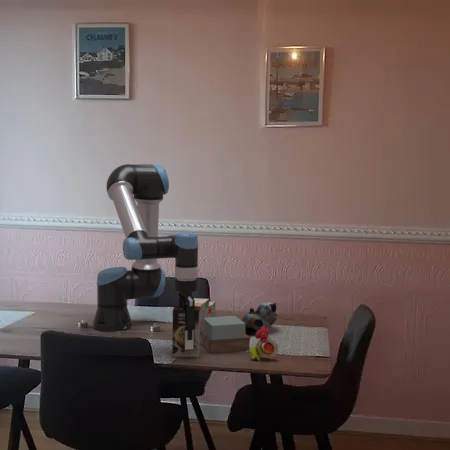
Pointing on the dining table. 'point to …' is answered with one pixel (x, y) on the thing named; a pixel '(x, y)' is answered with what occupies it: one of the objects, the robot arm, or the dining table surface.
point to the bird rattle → (268, 348)
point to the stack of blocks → (205, 309)
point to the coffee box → (179, 334)
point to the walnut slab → (224, 344)
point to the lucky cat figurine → (261, 316)
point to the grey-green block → (223, 327)
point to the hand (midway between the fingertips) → (186, 345)
